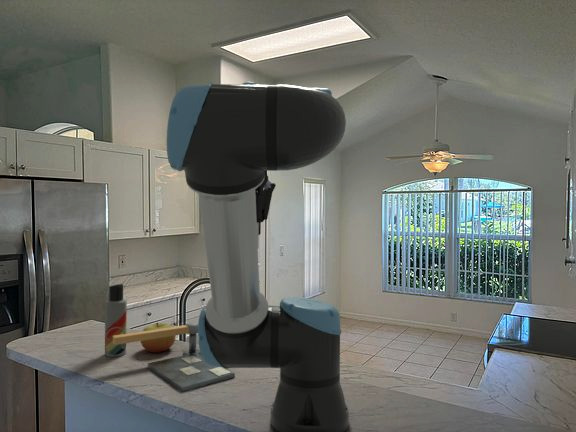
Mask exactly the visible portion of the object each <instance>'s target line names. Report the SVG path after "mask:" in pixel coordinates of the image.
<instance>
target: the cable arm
mask: <svg viewBox="0 0 576 432" xmlns="http://www.w3.org/2000/svg"><path fill="white" fill-rule="evenodd" d="M185 334H188V335H189V334H196V335H197V334H198V322H188V323H186V324H185V325H182V324H181V325H177V326H172V327H169V328H162V329H155V330H148V331H143V330H142V331H135V332H128V333H126V334H121V335H114V336H113V344H114V345H118V344H124V343H126V344H131V343H135V342H136V343H137V342H141V341H143V340H149V339H156V338H162V337H168V336H174V335H176V336H179V335H185Z"/></svg>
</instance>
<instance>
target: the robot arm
mask: <svg viewBox="0 0 576 432" xmlns="http://www.w3.org/2000/svg"><path fill="white" fill-rule="evenodd" d="M169 109H170V110H169V115H168V119H167V120H168V121H167V129H166V155H167V161H168V163H169V165H170V168H171V169H173V170H175V171H178V172H182V171H184V175H185V176H184V177H185V182H186V185H187V187H188V188H189V189H190V190H192V191H193V192H195V193H197V194H198V200H199V208H200V216H201V217H200V218H201V222H202V223H201V224H202V230H203V231H202V232H203V237H204V238H203V239H204V247H205V253H206V263H207V269H208V270H207V271H208V276H209V285H210V292H211V297H210V299H208V301H207V302H206V303H207V304H206V305H205V306H203V307H202V308H201V311H200V313H199V317H198V322H197V323H198V333H197V336H198V347H199V348H198V350H200V352H201V356H202V358H203V360H204V361H205V363H206V364H208V365H209V366H212V367H222V368H225V369H279V372H280V373H279V383H278V386H277V390H276V394H275V397H274V401H273V402H272V404H271V407H270V424H271V426H272V428H273V429H274V430H275V431H276V432H346V431H347V429H348V428H349V425H350V420H349V419H350V418H349V416H350V414H349V413H350V412H349V407H348V405H347V404H346V401H345V399H346V398H345V395H344V391H343V388H342V385H341V380H340V379H341V335H342V329H341V317H340V316H341V315H340V311H339V310H338V308H336V306H334V305H332V304H330V303H328V302H325V301H322V300H318V299H314V298H307V297H299V296H297V297H296V296H294V297H290V296H288V297H287V296H286V297H284V298H282V299H281V300H280V302H279V305H269V303H268V300H267V298H266V297H265V295H264V294H263V293H262V292H261V291H260V272H259V248H260V247H259V243H260V242H259V237H260V236H261V234H262V233H261V231H262V228H261V225H262V223H263V222H264V221H265V220H267V219H268V216H269V212H270V207H271V201H272V197H273V192H274V190H275V189H276V183H274V182H273V183H272V182H271V181H270V180H269V175H268V171H290V170H293V171H294V170H297V169H301V168H304V167H308V166H310V165H312V164H315V163H317V162H318V161H320V160H323V159H324V158H325V157H327V156H329V155H330V154H331V153H332V152H333V151H334V150H335V149H336V148H337V147H338V146H339V145H340V143H342V140H343V137H344V134H345V131H346V124H347V119H346V114H345V111H344V108H343V107H342V105H341V103H340V102H339V100H337V99H336V98H335V97H334V96H333V95H332V91H331V90H330V89H329V88H324V87H323V88H322V87H304V86H297V85H290V84H258V83H256V82H254V81H247V82H243V83H241V84H229V83H227V84H225V83H224V84H223V83H221V84H220V83H213V82H208V83H207V84H193V85H192V84H191V85H190V84H188V85H185V86H182V87H181V88H179V89H178V90H177V92H176V93H175V94H174V97H173V99H172V101H171V106H170V108H169Z"/></svg>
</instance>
